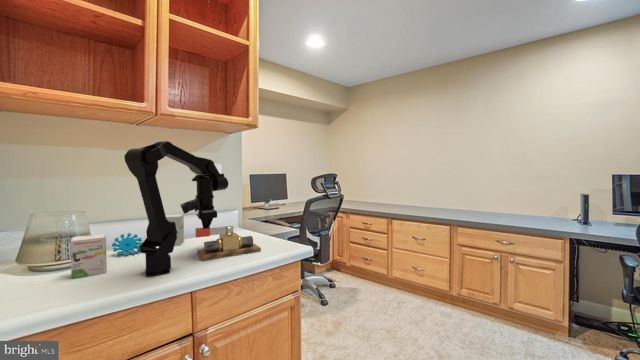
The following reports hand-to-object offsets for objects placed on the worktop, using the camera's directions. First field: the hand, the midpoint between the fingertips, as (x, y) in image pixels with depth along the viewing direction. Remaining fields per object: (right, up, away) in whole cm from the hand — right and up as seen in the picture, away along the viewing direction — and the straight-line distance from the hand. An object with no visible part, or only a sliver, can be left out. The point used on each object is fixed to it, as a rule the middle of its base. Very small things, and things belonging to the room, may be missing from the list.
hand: (205, 232), depth 111 cm
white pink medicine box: (-28, -9, -21) cm, 36 cm away
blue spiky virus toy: (-30, -9, +1) cm, 31 cm away
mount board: (+9, -8, +1) cm, 12 cm away
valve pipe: (+9, -8, +1) cm, 12 cm away
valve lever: (+4, -1, -1) cm, 4 cm away
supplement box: (-20, -8, +15) cm, 26 cm away
